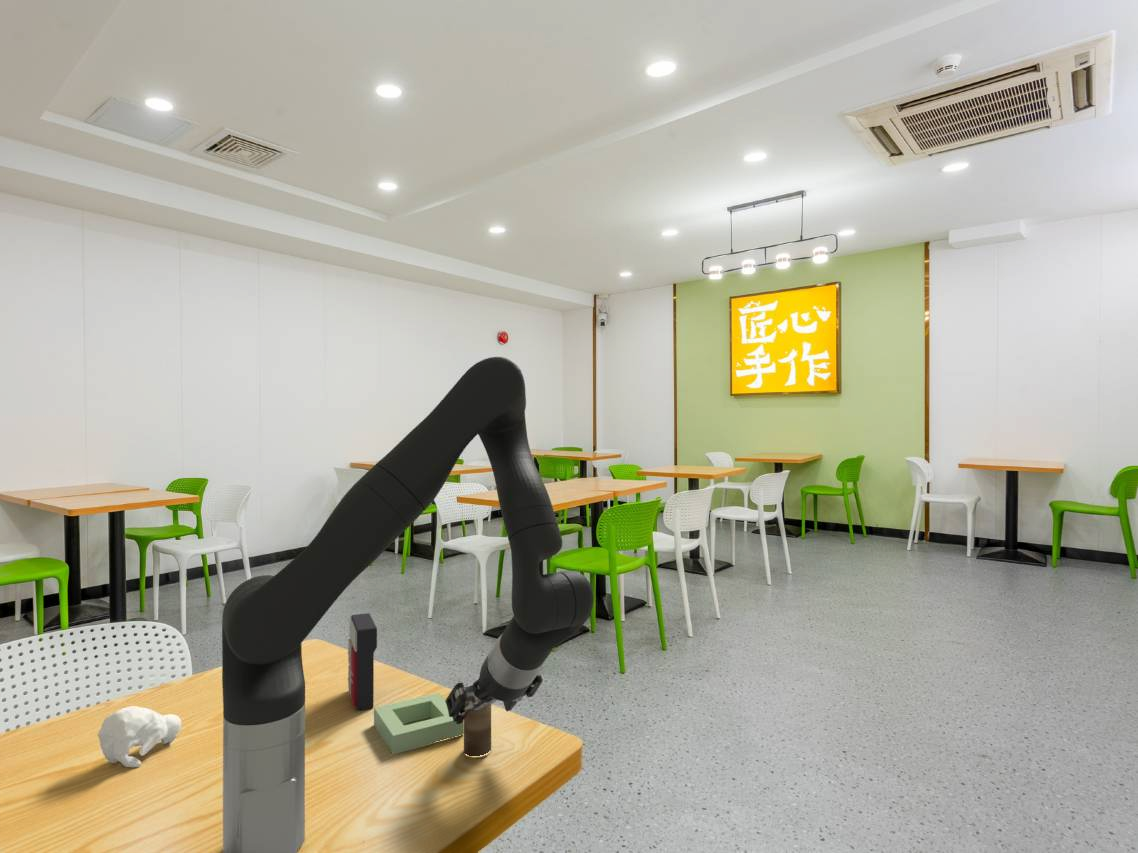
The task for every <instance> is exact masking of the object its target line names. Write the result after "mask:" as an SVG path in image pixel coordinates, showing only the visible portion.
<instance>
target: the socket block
mask: <svg viewBox="0 0 1138 853" xmlns="http://www.w3.org/2000/svg"><path fill="white" fill-rule="evenodd" d="M446 699H447V698H445V697H444V696H443V695H442V694H441V693H440V692H437V693H432V694H428V695H424V696H418V697H415V698H410V699H405V700H403V701H402V700H401V701H397V702H393V703H388V704H384V705H379V706H375V707H373V725H374V727H375V728H376V730H377V732H378V733H379V735H380V736H381V738H382V739H383V741H384V742H385V744H386V746H387V747H388V749H389V750H390V751H391V753H392V755H397V754H401V753H404V752H408V751H412V750H415V749H418V748H423V747H426V745H427V746H429V745H428V744H430V745H432V744H431V743H434V742H436V741H440V740H444V739H447V738H452V737H455V736H459V735H462V734H464V720H463V722H462V723H461V724H456V722H454V721H453V717H449V714H448V713H449V712H448V708H447V705H446V702H445V700H446ZM429 717H430V719H429ZM425 718H426V719H427V720H425ZM421 719H422V720H421ZM417 720H418V721H417ZM413 721H414V722H413ZM409 722H410V723H409ZM405 723H406V724H405ZM408 723H409V724H408ZM434 744H435V743H434ZM422 746H423V747H422Z"/></svg>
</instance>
